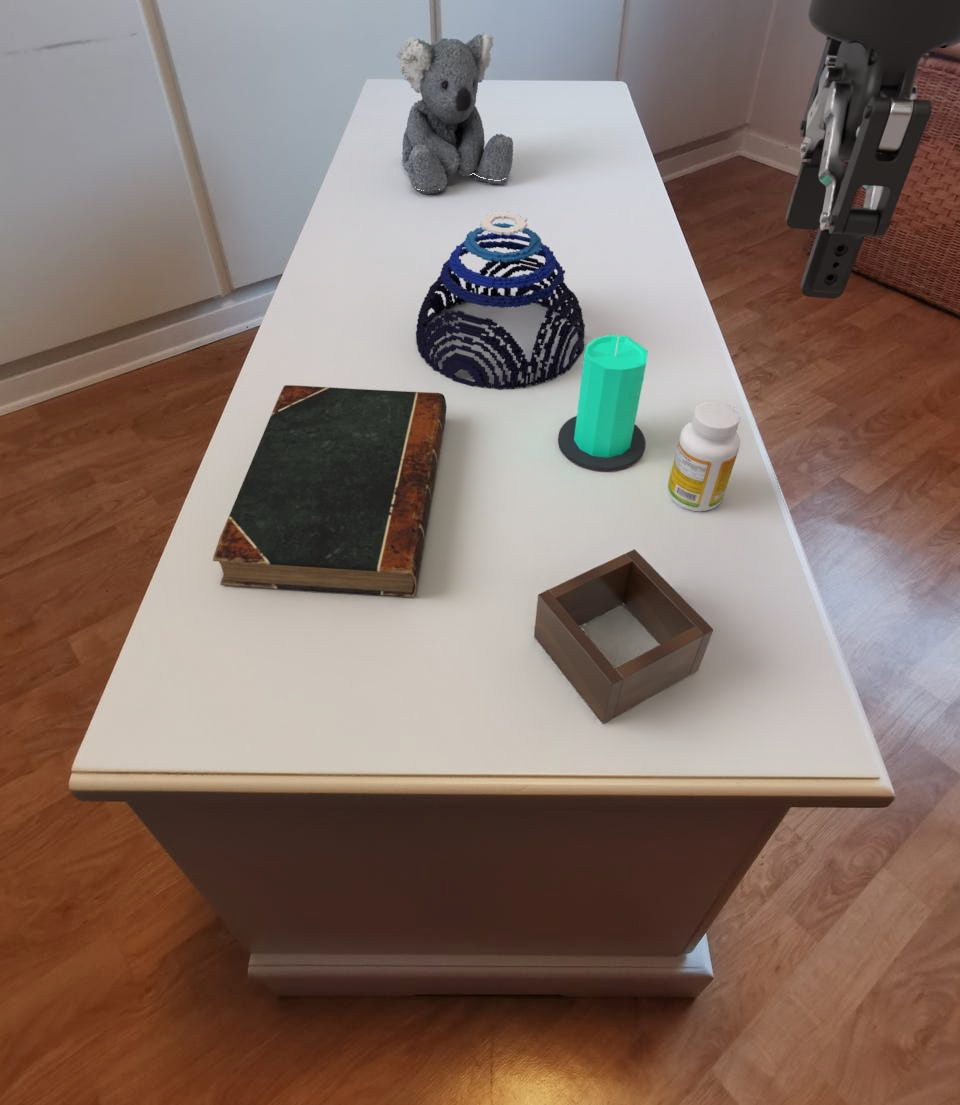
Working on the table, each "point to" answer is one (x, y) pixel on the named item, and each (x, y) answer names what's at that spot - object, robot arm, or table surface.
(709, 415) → the supplement bottle
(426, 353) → the decorative bowl
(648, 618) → the square wooden box
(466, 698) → the table surface
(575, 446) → the coaster
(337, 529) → the book
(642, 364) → the candle
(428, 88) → the koala plush
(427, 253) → the table surface
